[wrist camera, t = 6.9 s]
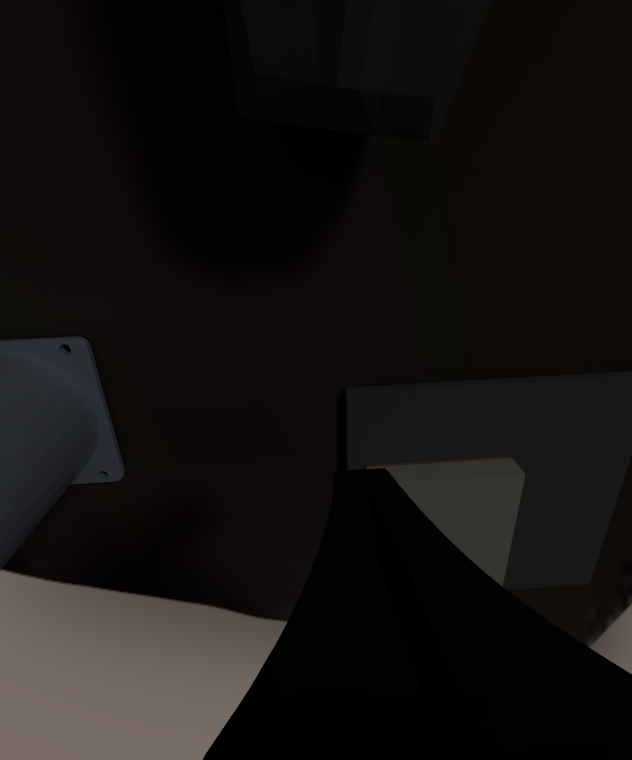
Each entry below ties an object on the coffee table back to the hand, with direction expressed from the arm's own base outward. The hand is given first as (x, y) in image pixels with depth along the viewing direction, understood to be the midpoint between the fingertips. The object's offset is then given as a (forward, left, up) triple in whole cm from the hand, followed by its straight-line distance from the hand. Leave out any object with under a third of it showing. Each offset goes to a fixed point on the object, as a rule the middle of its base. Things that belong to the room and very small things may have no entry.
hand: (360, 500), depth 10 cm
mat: (+9, -9, -10) cm, 16 cm away
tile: (+6, -6, -9) cm, 12 cm away
